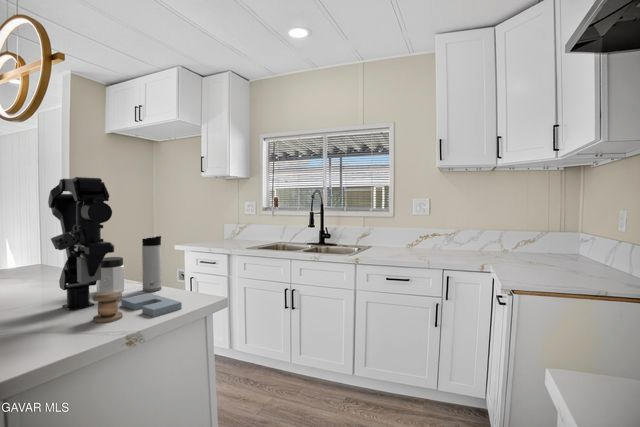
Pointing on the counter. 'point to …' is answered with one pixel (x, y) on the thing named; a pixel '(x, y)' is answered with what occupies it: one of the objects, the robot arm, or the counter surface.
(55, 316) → the counter surface
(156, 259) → the travel mug
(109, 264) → the jar
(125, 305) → the notched board
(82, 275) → the grey block
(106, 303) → the bobbin
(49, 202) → the robot arm
